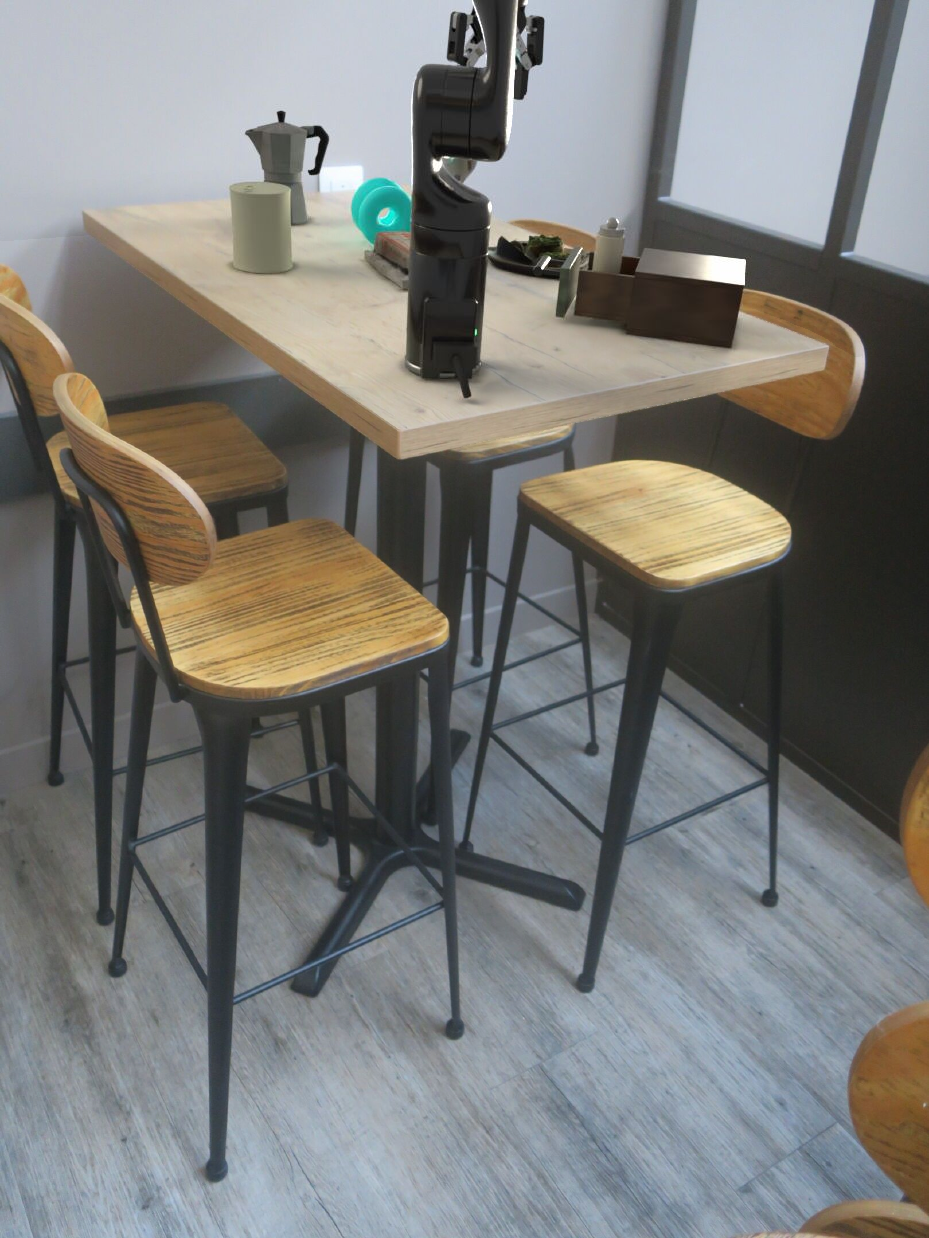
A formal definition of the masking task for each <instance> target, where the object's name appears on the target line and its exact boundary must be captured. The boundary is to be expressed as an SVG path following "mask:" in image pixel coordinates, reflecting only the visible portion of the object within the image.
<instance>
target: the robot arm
mask: <svg viewBox="0 0 929 1238" xmlns="http://www.w3.org/2000/svg"><path fill="white" fill-rule="evenodd" d="M471 2H472V9H471V12H470V14H469V13H468V14H467V13H465V12H462V11H452V12H451V13H450V18H449V26H448V27H449V28H448V38H447V48H446V60H447V61H448V62H450V63H453V64H443V63H426V64H423V65H422V66H421V67H420V68H419V69H418V71H417V73H416V75H415V78H414V82H413V87H412V94H411V110H410V111H411V112H410V113H411V117H410V119H411V122H410V123H411V166H412V167H411V196H410V197H411V229H410V253H409V280H408V289H407V308H406V338H405V340H406V341H405V355H404V366H405V368H406V369H407V370H408V371H410V372H411V373H414V374H417V375H419V376H420V378H421V379H424V380H427V379H430V380H431V379H433V380H458V382H459V386H460V391H461V393H462V397H463V399H469V398H471V397H472V392H471V388H470V385H469V380H472V379H473V376H474V375H476V374H478V373H479V372H480V371H481V368H482V367H481V366H482V360H481V356H482V355H481V353H482V341H483V327H484V315H485V314H484V312H485V302H486V301H485V300H486V288H487V274H488V261H489V260H488V250H489V247H490V235H491V233H490V232H491V221H492V202H491V200H490V198H488V197H487V195H485V194H483V192H481V191H478V190H476V189H474V188H472V187H470V186H468V185H466V184H464V183H463V184H462V183H461V182H459V181H458V180H457V179H455V178H454V177H453V176H452V175H451V174H450V173H449V172H448V171H447V170H446V169H445V167H444V165H443V163H442V158H448V159H459V160H472V161H477V162H482V163H483V162H484V163H495V162H496V163H497V162H499V161H501V159H502V158H503V157H504V156H505V154H506V151H507V148H508V145H509V142H510V136H511V131H512V121H513V106H514V100H515V101H516V100H517V101H523V100H524V98H525V96H527V93H528V86H529V75H530V70H531V69H532V68H534V67H536V66H541V65H542V64H543V61H544V44H545V43H544V42H545V41H544V39H545V22H546V21H545V18H544V17H543V16H541V15H536V14H535V15H533V14H532V15H531V14H530V15H529V16H526V7H527V4H528V0H471ZM470 28H471V30H472V34H471V36H470V37H469V39H468V41H467V42H466V34H467V31H468V30H469V29H470ZM524 31H525V32H526V44H525V42H524V40H523V38H522V36H521V35H522V33H523V32H524ZM484 55H485V65H484V67H477V66H475V65H476V64H477V62H478V61H479V59H480V57H482V56H484ZM515 68H516V69H515Z"/></svg>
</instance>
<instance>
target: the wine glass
mask: <svg viewBox="0 0 929 1238" xmlns="http://www.w3.org/2000/svg"><path fill="white" fill-rule="evenodd" d="M442 163H443V165H444V167H445V169H446V170H447V171H448V172H449V173H450V174H451V175H452V176H453V177H454V178H455V179H457V180H458V181H459V182H461V183H462V184H464V183H465V181H466V180H467V179H468V178H469V177H470V176H471V175H472V173H474V171H475V169H476V167H477V164H478V161H472V160H459V159H448V158H442Z"/></svg>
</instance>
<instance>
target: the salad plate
mask: <svg viewBox="0 0 929 1238" xmlns="http://www.w3.org/2000/svg"><path fill="white" fill-rule="evenodd" d="M572 250H573V248H568V247H565V245H564V241H563V237H560V236H559V235H556V236H554V234H549V235H548V236H546V235H545V234H544V233H541V234H540V235H529V236H528V240H515V239H514V240H511V241H510V240H508V239H507V238H506V237H505V236H503V235H501V236H500V237H498V240H497V244H496V246H489V250H488V261H489V262H490V264H491V265H492V266H493V267H494V268H496V269H499V270H501V271H505V272H510V273H515V274H519V275H523V276H528V277H535V278H542V279H560V276H556V275H549V274H543V273H542V275H541V276H535V275H534V273H533V269H534V268H535V266H536V265H537V263H538V262H539V261H540V259H541V258H542V257H543V256H544V255H547V256H549V257H550V259H555V260H563V261H566V259H567V258H568V256H569V255H570V253H571V251H572ZM589 254H590V251H587V250H584V249H582V255H581V263H580V269H583V270H585V269H586V268H588V262H589ZM561 267H562V265H554V264H550V263H549V265H548V266H547V268H546V269H550V270H558V271H561Z"/></svg>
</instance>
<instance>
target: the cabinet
mask: <svg viewBox="0 0 929 1238" xmlns="http://www.w3.org/2000/svg"><path fill="white" fill-rule="evenodd" d="M640 257H641V258H640V261H639V263H638V266H637V268H636V271H635V276H634V282H633V289H632V296H631V302H630V309H629V316H628V322H627V323H626V330H625V334H626V335H631V336H637V337H645V338H653V339H659V340H666V341H667V340H668V341H676V342H683V343H689V344H698V345H705V346H711V347H719V348H720V347H721V348H728V349H732V347H733V342H734V337H735V332H736V329H737V328H736V327H737V323H738V318H739V314H740V309H741V303H742V298H743V294H744V289H745V279H746V278H745V276H746V275H745V273H746V259H742V258H741V259H740V258H733V257H724V256H718V255H717V256H716V255H708V254H699V253H691V252H682V251H675V250H668V249H667V250H666V249H658V248H649V247H644V248H643V251H642V253H641V256H640Z"/></svg>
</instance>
